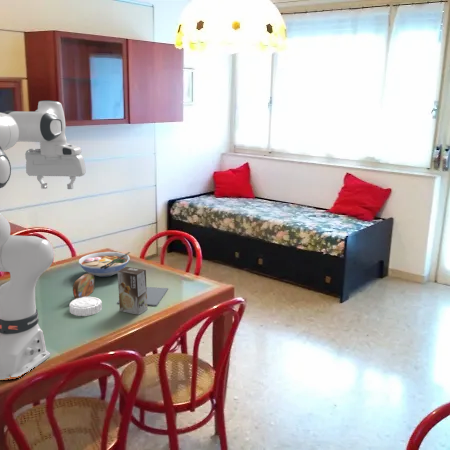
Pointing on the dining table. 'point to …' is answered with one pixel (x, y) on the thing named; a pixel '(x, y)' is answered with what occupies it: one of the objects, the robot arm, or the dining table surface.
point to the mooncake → (85, 306)
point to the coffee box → (132, 290)
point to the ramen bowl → (104, 263)
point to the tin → (84, 286)
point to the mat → (154, 295)
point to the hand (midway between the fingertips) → (57, 188)
